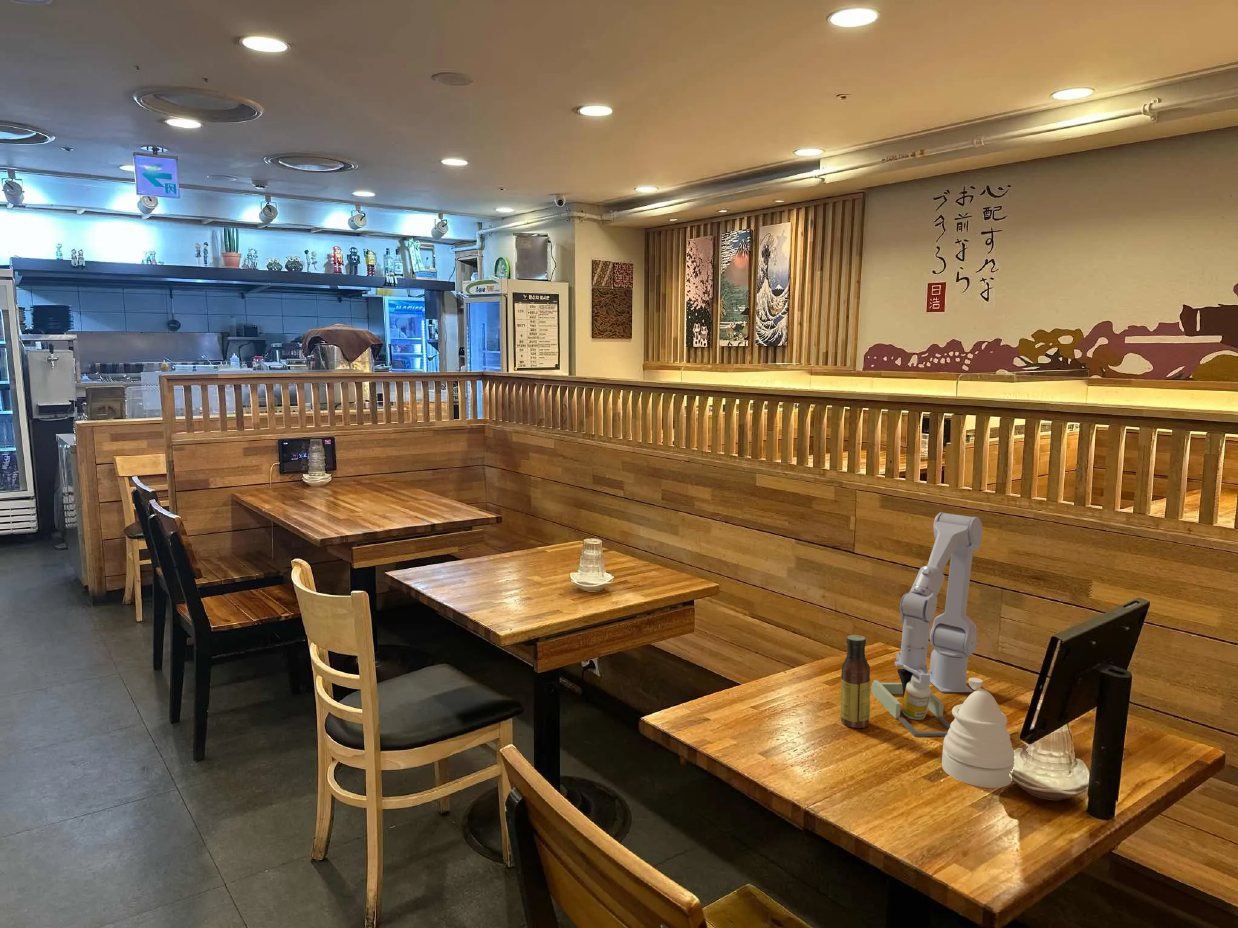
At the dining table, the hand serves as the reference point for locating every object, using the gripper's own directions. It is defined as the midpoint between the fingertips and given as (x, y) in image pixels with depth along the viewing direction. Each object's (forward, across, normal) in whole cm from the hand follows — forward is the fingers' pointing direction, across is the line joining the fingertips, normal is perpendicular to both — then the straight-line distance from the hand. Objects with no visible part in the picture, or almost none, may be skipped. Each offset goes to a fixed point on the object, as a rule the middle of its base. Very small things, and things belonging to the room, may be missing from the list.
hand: (909, 701), depth 189 cm
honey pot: (+2, +28, +2) cm, 29 cm away
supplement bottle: (+2, +2, 0) cm, 3 cm away
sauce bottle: (+3, +7, -15) cm, 17 cm away
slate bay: (+2, +8, +1) cm, 9 cm away
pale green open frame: (+2, -3, +1) cm, 4 cm away
